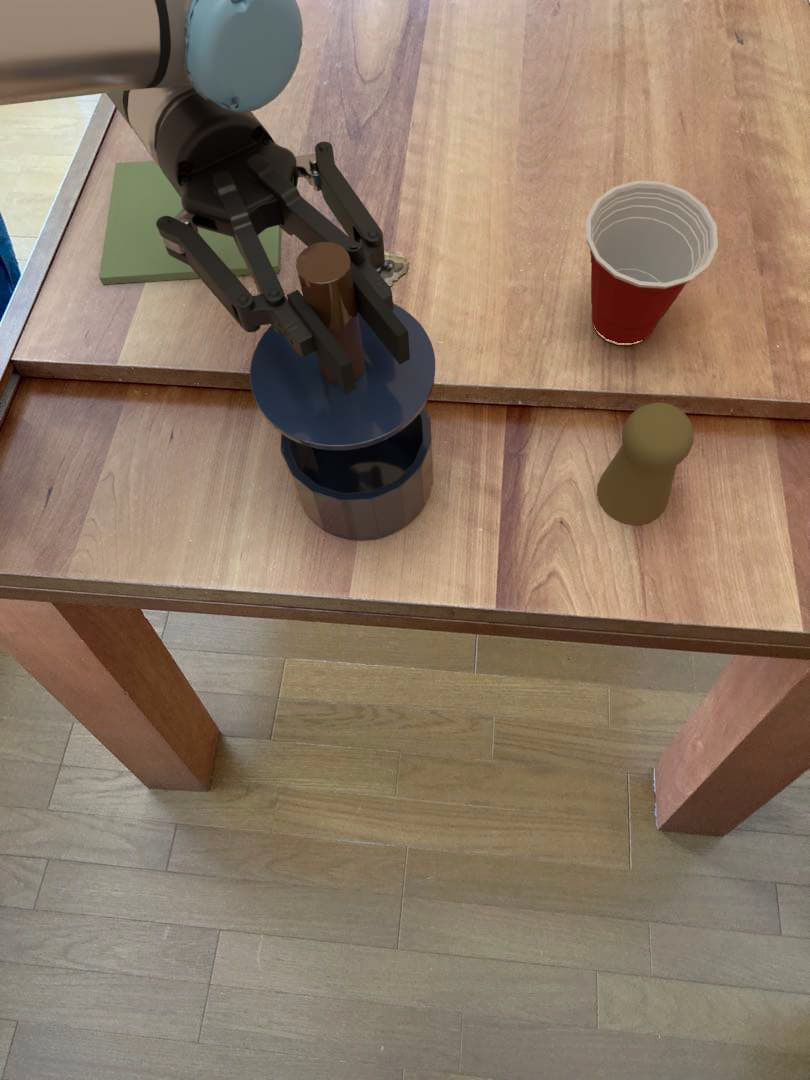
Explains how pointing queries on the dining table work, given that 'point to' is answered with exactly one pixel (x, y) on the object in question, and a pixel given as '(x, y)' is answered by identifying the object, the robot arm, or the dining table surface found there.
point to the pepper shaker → (645, 464)
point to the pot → (364, 482)
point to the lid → (381, 383)
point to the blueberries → (393, 266)
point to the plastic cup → (644, 254)
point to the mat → (137, 238)
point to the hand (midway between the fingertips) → (376, 362)
